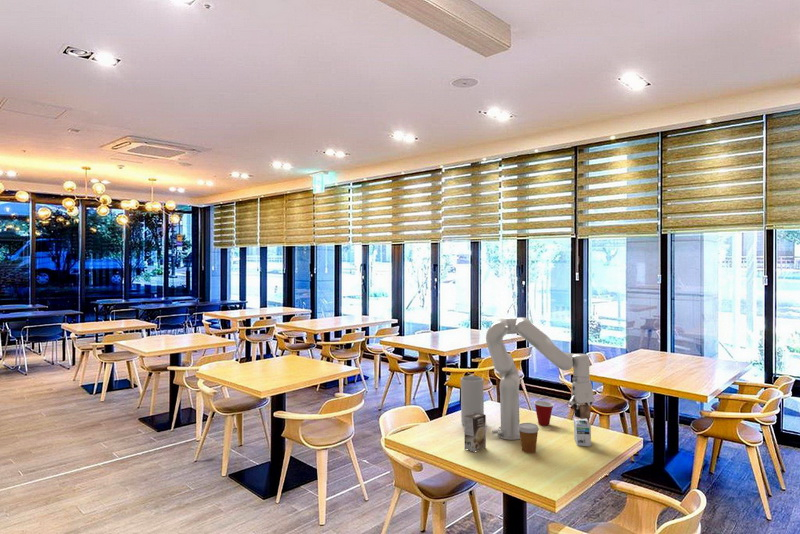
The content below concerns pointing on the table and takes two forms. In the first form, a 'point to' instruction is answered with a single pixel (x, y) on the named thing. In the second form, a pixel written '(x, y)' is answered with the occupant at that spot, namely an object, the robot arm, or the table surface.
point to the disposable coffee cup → (528, 437)
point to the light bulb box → (582, 432)
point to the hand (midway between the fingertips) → (582, 415)
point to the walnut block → (584, 411)
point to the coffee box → (475, 431)
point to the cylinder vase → (471, 396)
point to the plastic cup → (543, 412)
